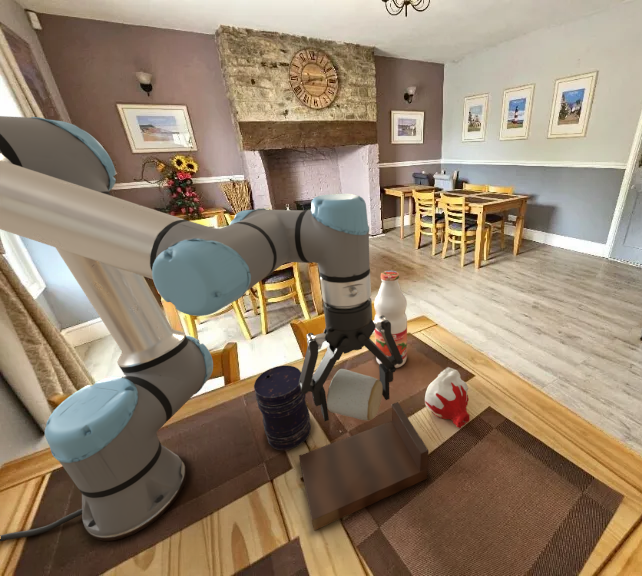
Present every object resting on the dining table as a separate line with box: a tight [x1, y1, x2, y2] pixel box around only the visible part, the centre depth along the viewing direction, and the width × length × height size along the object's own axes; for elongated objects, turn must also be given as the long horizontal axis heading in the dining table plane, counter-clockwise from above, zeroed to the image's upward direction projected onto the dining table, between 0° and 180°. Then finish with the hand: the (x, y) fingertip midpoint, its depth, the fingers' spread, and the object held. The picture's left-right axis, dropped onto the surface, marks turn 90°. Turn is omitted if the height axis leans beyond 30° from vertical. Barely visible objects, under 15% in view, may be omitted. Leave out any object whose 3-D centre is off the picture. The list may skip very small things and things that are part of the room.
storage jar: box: [253, 364, 312, 451], centre depth 68 cm, size 10×10×15 cm
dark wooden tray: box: [298, 402, 429, 531], centre depth 60 cm, size 22×13×8 cm, turn 113°
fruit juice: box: [373, 270, 408, 369], centre depth 88 cm, size 9×9×28 cm
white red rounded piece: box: [424, 366, 471, 429], centre depth 73 cm, size 9×11×15 cm
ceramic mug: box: [326, 368, 383, 421], centre depth 56 cm, size 11×8×8 cm
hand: (355, 404), depth 57 cm, fingers closed on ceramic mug, 11 cm apart
